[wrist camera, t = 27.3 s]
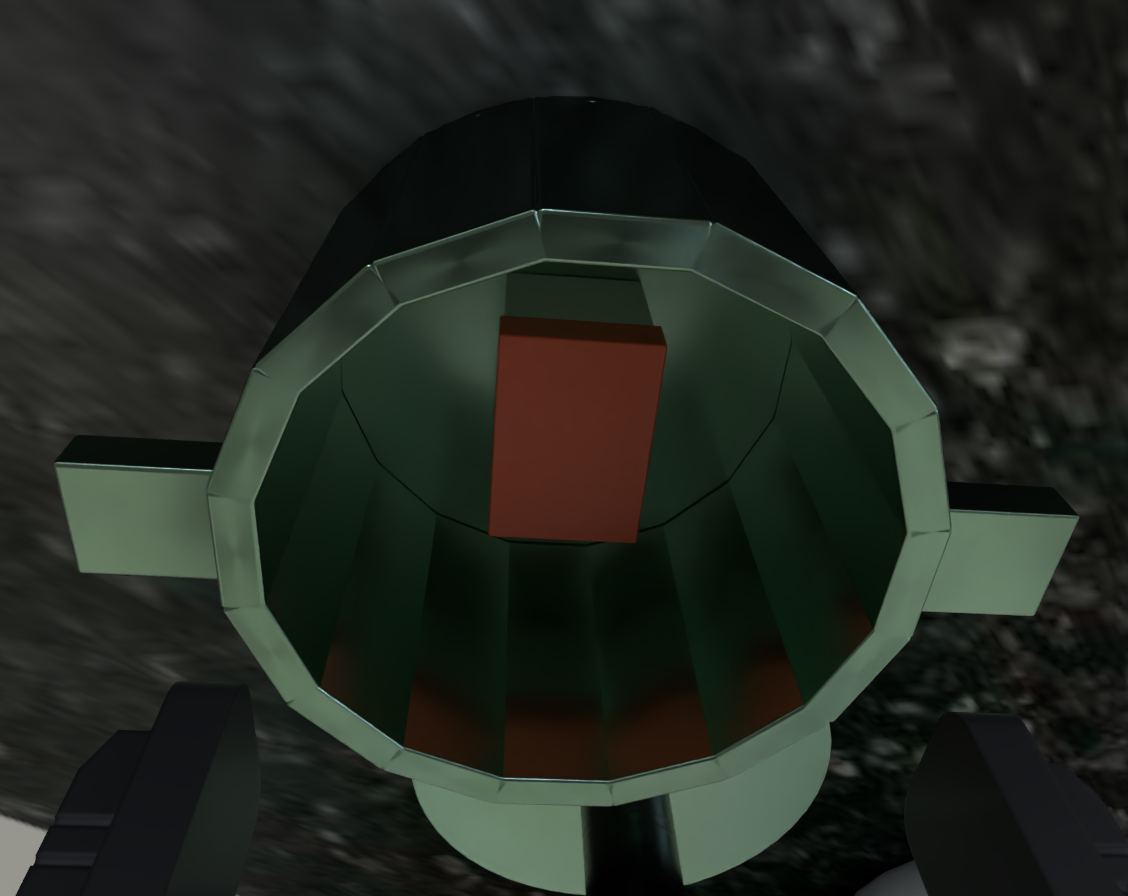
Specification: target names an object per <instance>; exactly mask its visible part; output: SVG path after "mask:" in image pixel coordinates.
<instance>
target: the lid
mask: <svg viewBox="0 0 1128 896" xmlns="http://www.w3.org/2000/svg"><path fill="white" fill-rule="evenodd" d="M831 740H832V737H831V729H830V723H829V724H828V725H826V726H824V727H823V728H821V729H819V730H817V731H815V732H814V733H812V734H810V735H808V736H806V737H804V738H803V739H801V740H799V741H797V742H795V743H794V744H792V745H790V746H788V747H786V748H785V749H783V750H781V751H779V752H777V753H775V754H774V755H772V756H770V757H768V758H766V759H765V760H763V761H761V762H759V763H757V764H755V765H754V766H752V767H750V768H748V769H746V770H745V771H743V772H741V773H739V774H737V775H735V776H734V777H731V778H729V777H728V778H727V780H724V781H720V782H716V783H712V784H707V785H703V786H699V787H694V788H690V789H686V790H682V791H677V792H673V793H669V794H665V795H660V796H656V797H652V798H648V799H643V800H639V801H635V802H630V803H626V804H622V805H618V806H614V805H612V806H610V807H603V806H565V805H528V804H497V803H495V802H493V803H490V802H487V801H483V800H480V799H477V798H474V797H470V796H467V795H464V794H460V793H457V792H454V791H450V790H447V789H444V788H441V787H437V786H434V785H431V784H427V783H424V782H421V781H417V780H414V779H412V783H413V786H414V790H415V793H416V797H417V800H418V802H419V804H420V806H421V808H422V810H423V811H424V813H425V815H426V817H427V818H428V820H429V821H430V823H431V824H432V825H433V827H434V828H435V829H436V831H437V832H438V833H439V834H440V835H441V836H442V837H443V838H444V839H445V840H446V841H447V842H448V843H449V844H450V845H451V846H452V847H453V848H455V849H456V850H457V851H459V852H460V853H461V854H463V855H464V856H465V857H467V858H468V859H470V860H471V861H473V862H475V863H477V864H478V865H480V866H482V867H483V868H485V869H487V870H489V871H491V872H494V873H496V874H498V875H500V876H503V877H505V878H507V879H510V880H513V881H516V882H519V883H522V884H525V885H528V886H532V887H537V888H541V889H545V890H550V891H555V892H562V893H570V894H578V895H586V896H685V890H684V885H687V884H691V883H695V882H698V881H701V880H704V879H707V878H709V877H712V876H715V875H718V874H720V873H722V872H724V871H727V870H729V869H731V868H733V867H735V866H738V865H740V864H742V863H743V862H745V861H747V860H748V859H750V858H752V857H754V856H755V855H757V854H759V853H760V852H762V851H763V850H765V849H766V848H767V847H769V846H770V845H772V844H773V843H774V842H776V841H777V840H778V839H779V838H781V837H782V836H783V835H784V834H785V833H786V832H787V831H788V830H789V829H791V828H792V827H793V826H794V825H795V823H796V822H797V821H798V820H799V819H800V818H801V817H802V815H803V814H804V813H805V812H806V811H807V809H808V808H809V806H810V805H811V803H812V802H813V800H814V799H815V797H816V795H817V794H818V792H819V790H820V787H821V785H822V783H823V781H824V778H825V776H826V772H827V768H828V765H829V761H830V756H831Z"/></svg>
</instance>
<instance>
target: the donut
mask: <svg viewBox="0 0 1128 896" xmlns="http://www.w3.org/2000/svg"><path fill="white" fill-rule="evenodd" d="M854 896H928V894H927V892H926V889H925V887H924V884H923V882H922V879H921V876H920V874H919V871H918V869H917V866H916V863H915V861H914V860H913V861H910V862H908V863H905V864H903V865H901V866H898V867H896V868H893V869H891V870H889V871H886V872H884V873H883V874H881V875H880V876H878V877H877V878H875V879H874V880H873V881H871V882H870V883H868V884H867V885H865V886H864V887H862V888H861V889H860V890H858V891H857V893H856V894H855V895H854Z"/></svg>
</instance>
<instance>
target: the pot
mask: <svg viewBox="0 0 1128 896" xmlns="http://www.w3.org/2000/svg"><path fill="white" fill-rule="evenodd" d="M508 273H521V274H535V275H549V276H564V277H578V278H592V279H607V280H621V281H635V282H640V283H642V287H643V290H644V294H645V297H646V300H647V304H648V307H649V311H650V314H651V318H652V321H653V324H654V325H655V326H661V327H662V330H663V333H664V336H665V339H666V343H667V346H668V347H667V354H666V360H665V366H664V373H663V379H662V385H661V392H660V398H659V404H658V410H657V417H656V423H655V429H654V436H653V442H652V448H651V455H650V461H649V467H648V473H647V480H646V486H645V492H644V499H643V505H642V511H641V517H640V524H639V530H638V536H637V541H636V543H619V542H598V541H577V540H556V539H536V538H515V537H494V536H489V535H488V521H489V503H490V484H491V466H492V447H493V429H494V411H495V392H496V374H497V356H498V337H499V321H500V316H502V315H504V312H505V294H506V277H507V275H508ZM54 471H55V475H56V479H57V483H58V488H59V492H60V496H61V500H62V504H63V509H64V513H65V517H66V521H67V526H68V530H69V534H70V538H71V543H72V547H73V551H74V555H75V559H76V564H77V568H78V571H79V572H80V573H82V574H104V575H126V576H149V577H172V578H195V579H217V580H218V587H219V594H220V601H221V606H222V607H223V611H224V613H225V615H226V616H227V618H228V619H229V621H230V622H231V624H232V625H233V626H234V628H235V629H236V631H237V632H238V634H239V635H240V637H241V638H242V640H243V641H244V643H245V644H246V646H247V647H248V649H249V650H250V652H251V653H252V654H253V656H254V657H255V659H256V660H257V662H258V663H259V665H260V666H261V668H262V669H263V671H264V672H265V674H266V675H267V677H268V678H269V680H270V681H271V683H272V684H273V685H274V687H275V688H276V690H277V691H278V693H279V694H280V696H281V697H282V699H283V700H284V701H285V702H287V705H288V706H289V707H290V708H292V709H293V710H295V711H296V712H298V713H299V714H300V715H302V716H303V717H305V718H306V719H308V720H309V721H311V722H312V723H314V724H315V725H317V726H318V727H319V728H321V729H322V730H324V731H325V732H327V733H328V734H330V735H331V736H333V737H334V738H336V739H337V740H338V741H340V742H341V743H343V744H344V745H346V746H347V747H349V748H350V749H352V750H353V751H355V752H356V753H357V754H359V755H360V756H362V757H363V758H365V759H366V760H368V761H369V762H371V763H372V764H374V765H375V766H376V767H378V768H380V769H383V770H384V771H388V772H391V773H394V774H398V775H401V776H404V777H408V778H411V779H414V780H417V781H421V782H424V783H427V784H431V785H434V786H437V787H441V788H444V789H447V790H450V791H454V792H457V793H460V794H464V795H467V796H470V797H474V798H477V799H480V800H483V801H487V802H490V803H493V802H495V803H497V804H528V805H565V806H603V807H610V806H612V805H614V806H618V805H622V804H626V803H630V802H635V801H639V800H643V799H648V798H652V797H656V796H660V795H665V794H669V793H673V792H677V791H682V790H686V789H690V788H694V787H699V786H703V785H707V784H712V783H716V782H720V781H724V780H727V778H728V777H729V778H731V777H734V776H735V775H737V774H739V773H741V772H743V771H745V770H746V769H748V768H750V767H752V766H754V765H755V764H757V763H759V762H761V761H763V760H765V759H766V758H768V757H770V756H772V755H774V754H775V753H777V752H779V751H781V750H783V749H785V748H786V747H788V746H790V745H792V744H794V743H795V742H797V741H799V740H801V739H803V738H804V737H806V736H808V735H810V734H812V733H814V732H815V731H817V730H819V729H821V728H823V727H824V726H826V725H828V724H829V723H830V722H834V721H835V720H836V719H837V718H838V717H839V715H840V714H841V713H842V712H843V711H844V710H845V709H846V708H847V707H848V706H849V705H850V704H851V703H852V702H853V700H854V699H855V698H856V697H857V696H858V695H859V694H860V693H861V692H862V691H863V690H864V689H865V688H866V687H867V685H868V684H869V683H870V682H871V681H872V680H873V679H874V678H875V677H876V676H877V675H878V674H879V673H880V672H881V671H882V669H883V668H884V667H885V666H886V665H887V664H888V663H889V662H890V661H891V660H892V659H893V658H894V657H895V656H896V654H897V653H898V652H899V651H900V650H901V649H902V648H903V647H904V646H905V645H906V644H907V643H908V642H909V641H910V639H911V637H912V636H913V633H914V631H915V628H916V625H917V623H918V620H919V617H920V615H921V612H922V611H928V612H951V613H974V614H997V615H1019V616H1034V615H1035V613H1036V611H1037V609H1038V607H1039V604H1040V602H1041V600H1042V598H1043V596H1044V594H1045V591H1046V589H1047V587H1048V585H1049V583H1050V581H1051V578H1052V576H1053V574H1054V572H1055V570H1056V567H1057V565H1058V563H1059V561H1060V559H1061V557H1062V554H1063V552H1064V550H1065V548H1066V546H1067V544H1068V541H1069V539H1070V537H1071V535H1072V533H1073V531H1074V528H1075V526H1076V524H1077V522H1078V520H1079V516H1078V515H1077V513H1076V512H1075V511H1074V510H1073V509H1072V508H1071V507H1070V505H1069V504H1068V503H1067V502H1066V501H1065V500H1064V499H1063V497H1062V496H1061V495H1060V494H1059V493H1058V492H1057V491H1056V490H1055V488H1052V487H1037V486H1019V485H1001V484H983V483H964V482H947V479H946V470H945V462H944V453H943V444H942V436H941V427H940V418H939V411H938V410H937V405H936V403H935V402H934V400H933V399H932V398H931V396H930V395H929V393H928V392H927V391H926V389H925V388H924V386H923V385H922V384H921V382H920V381H919V379H918V378H917V377H916V375H915V374H914V372H913V371H912V370H911V368H910V367H909V365H908V364H907V363H906V361H905V360H904V358H903V357H902V356H901V354H900V353H899V352H898V350H897V349H896V347H895V346H894V345H893V343H892V342H891V340H890V339H889V338H888V336H887V335H886V333H885V332H884V331H883V329H882V328H881V326H880V325H879V324H878V322H877V321H876V319H875V318H874V317H873V315H872V314H871V312H870V311H869V310H868V308H867V307H866V305H865V304H864V303H863V301H862V300H861V298H860V297H859V296H858V295H857V293H856V292H855V291H854V290H853V289H852V287H851V286H850V285H849V284H848V282H847V281H846V280H845V279H844V278H843V276H842V275H841V274H840V273H839V271H838V270H837V269H836V268H835V266H834V265H833V264H832V263H831V262H830V260H829V259H828V258H827V257H826V255H825V254H824V253H823V252H822V251H821V249H820V248H819V247H818V246H817V244H816V243H815V242H814V241H813V239H812V238H811V237H810V236H809V235H808V233H807V232H806V231H805V230H804V228H803V227H802V226H801V225H800V223H799V222H798V221H797V220H796V219H795V217H794V216H793V215H792V214H791V212H790V211H789V210H788V209H787V208H786V206H785V205H784V204H783V203H782V201H781V200H780V199H779V198H778V196H777V195H776V194H775V193H774V192H773V190H772V189H771V188H770V187H769V185H768V184H767V183H766V182H765V181H764V179H763V178H762V177H761V176H760V174H759V173H758V172H757V171H756V169H755V168H754V167H753V166H752V165H751V163H750V162H748V161H747V160H746V159H745V158H743V157H741V156H740V155H738V154H736V153H734V152H732V151H731V150H729V149H727V148H726V147H724V146H722V145H721V144H719V143H718V142H716V141H715V140H713V139H712V138H710V137H709V136H707V135H706V134H704V133H703V132H701V131H699V130H698V129H696V128H694V127H692V126H690V125H688V124H686V123H683V122H681V121H679V120H677V119H675V118H673V117H671V116H668V115H666V114H664V113H662V112H660V111H658V110H656V109H655V108H653V107H650V108H649V107H647V106H639V105H635V104H631V103H628V102H622V101H615V100H609V99H602V98H596V97H580V96H549V97H536V98H527V99H524V100H517V101H512V102H508V103H504V104H501V105H497V106H493V107H489V108H486V109H482V110H478V111H476V112H473V113H471V114H469V115H466V116H464V117H462V118H459V119H457V120H454V121H452V122H450V123H447V124H445V125H443V126H441V127H440V128H438V129H436V130H433V131H430V132H427V133H425V134H424V136H420V137H419V138H418V139H417V140H416V141H414V142H413V143H412V144H411V145H410V146H409V147H408V148H406V149H405V150H404V151H403V152H402V153H400V154H399V155H398V156H397V157H395V158H394V159H393V160H392V161H390V162H389V163H388V164H387V165H385V166H384V167H383V168H382V169H381V171H380V172H379V173H378V174H377V175H376V176H375V177H374V178H373V179H372V180H371V181H370V182H369V183H368V185H367V186H366V187H365V188H364V189H363V190H362V191H361V192H360V193H359V194H358V195H357V196H356V197H354V198H353V199H352V200H351V201H350V202H349V203H348V204H347V205H346V206H345V207H344V208H343V210H342V211H341V212H340V214H339V216H338V217H337V219H336V221H335V223H334V224H333V226H332V228H331V230H330V231H329V233H328V235H327V237H326V238H325V240H324V242H323V244H322V245H321V247H320V249H319V251H318V252H317V254H316V256H315V258H314V259H313V261H312V263H311V265H310V266H309V268H308V270H307V272H306V273H305V275H304V277H303V279H302V281H301V282H300V284H299V286H298V288H297V289H296V291H295V293H294V295H293V296H292V298H291V300H290V302H289V303H288V305H287V307H286V309H285V310H284V312H283V314H282V316H281V317H280V319H279V321H278V323H277V324H276V326H275V328H274V330H273V331H272V333H271V335H270V337H269V338H268V340H267V342H266V344H265V345H264V347H263V349H262V351H261V352H260V354H259V356H258V358H257V359H256V361H255V363H254V365H253V366H252V368H251V370H250V373H249V376H248V378H247V381H246V383H245V386H244V389H243V391H242V394H241V396H240V399H239V402H238V404H237V407H236V409H235V412H234V415H233V417H232V420H231V422H230V425H229V428H228V430H227V433H226V435H225V438H224V441H223V443H221V442H203V441H184V440H166V439H148V438H130V437H111V436H93V435H77V436H75V437H74V438H73V439H72V441H71V442H70V443H69V444H68V445H67V447H66V448H65V449H64V450H63V452H62V453H61V454H60V455H59V456H58V458H57V459H56V460H55V461H54Z"/></svg>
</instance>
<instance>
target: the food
mask: <svg viewBox="0 0 1128 896" xmlns="http://www.w3.org/2000/svg"><path fill="white" fill-rule="evenodd" d="M667 347H668V346H667V343H666V339H665V336H664V333H663V330H662V327H661V326H655V325H654V324H653V321H652V318H651V314H650V311H649V307H648V304H647V300H646V297H645V294H644V290H643V287H642V283H640V282H635V281H621V280H607V279H592V278H578V277H564V276H549V275H535V274H521V273H508V275H507V277H506V294H505V312H504V315H502V316H500V321H499V337H498V356H497V374H496V392H495V411H494V429H493V447H492V466H491V484H490V503H489V521H488V535H489V536H494V537H515V538H536V539H556V540H577V541H598V542H619V543H636V541H637V536H638V530H639V524H640V517H641V511H642V505H643V499H644V492H645V486H646V480H647V473H648V467H649V461H650V455H651V448H652V442H653V436H654V429H655V423H656V417H657V410H658V404H659V398H660V392H661V385H662V379H663V373H664V366H665V360H666V354H667Z"/></svg>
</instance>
